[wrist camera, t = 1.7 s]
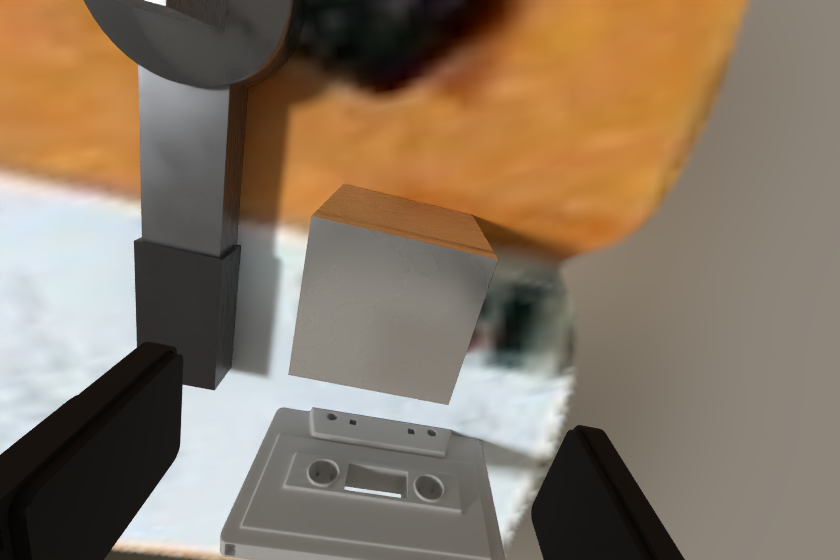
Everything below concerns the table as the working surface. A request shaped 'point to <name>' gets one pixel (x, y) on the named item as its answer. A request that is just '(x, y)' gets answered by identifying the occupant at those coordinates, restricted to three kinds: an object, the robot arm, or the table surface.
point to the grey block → (389, 294)
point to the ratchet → (194, 159)
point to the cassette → (362, 512)
